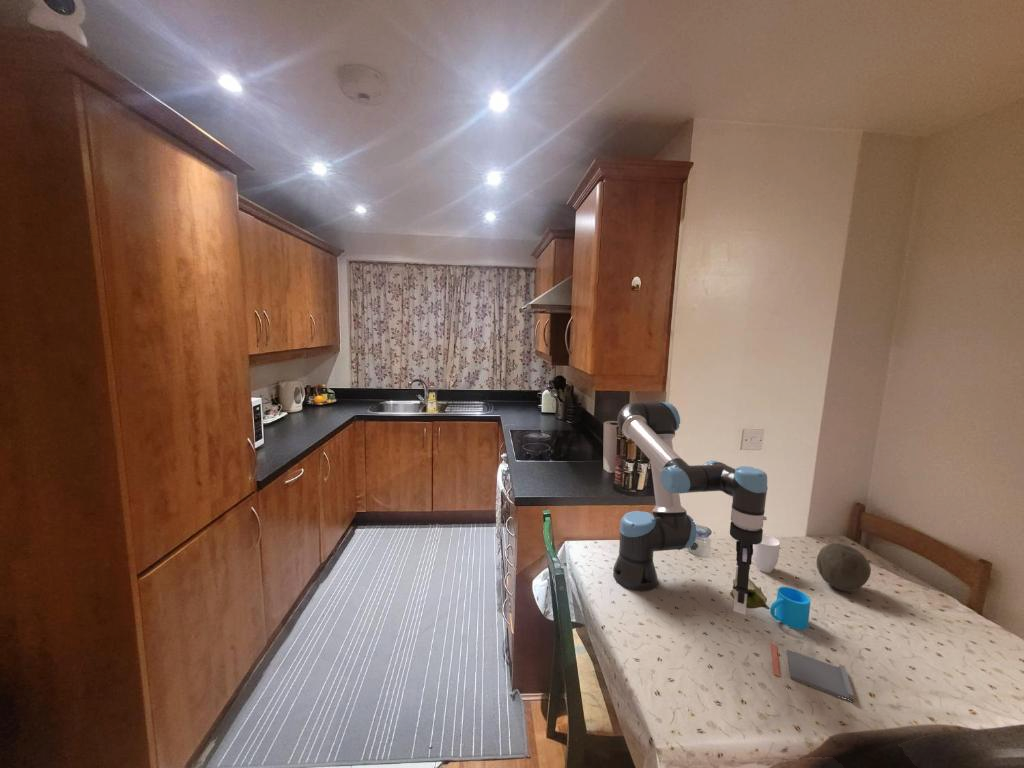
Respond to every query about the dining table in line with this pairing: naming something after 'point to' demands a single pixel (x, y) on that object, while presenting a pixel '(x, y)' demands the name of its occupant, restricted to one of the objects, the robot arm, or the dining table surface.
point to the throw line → (775, 660)
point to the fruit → (752, 596)
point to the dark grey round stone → (843, 567)
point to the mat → (820, 675)
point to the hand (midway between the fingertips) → (739, 600)
